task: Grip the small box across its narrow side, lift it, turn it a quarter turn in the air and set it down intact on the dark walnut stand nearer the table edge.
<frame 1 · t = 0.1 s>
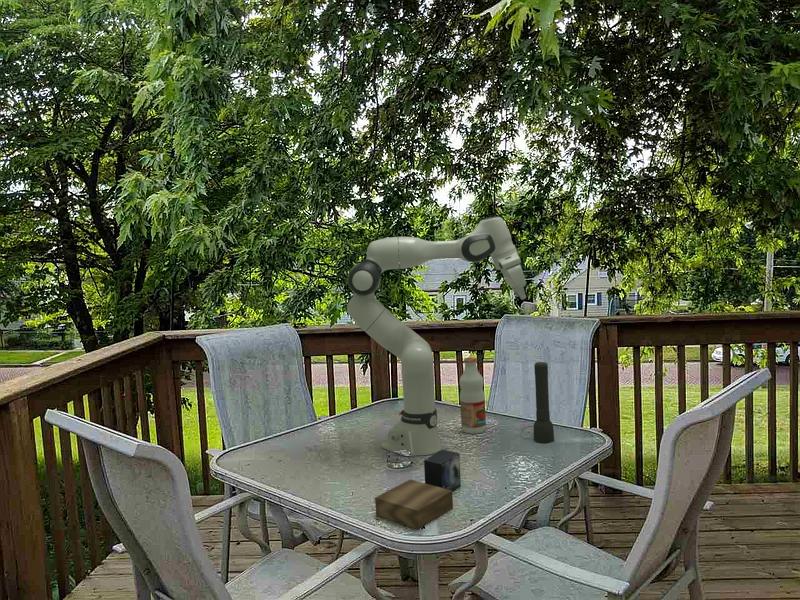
hand: (521, 297, 214), 52 cm above the table, tool tilted 20°, fingers open, 8 cm apart
small box: (443, 491, 183), on the table
flashlight: (543, 440, 221), on the table
stand: (414, 511, 169), on the table
fruit juice: (473, 430, 237), on the table
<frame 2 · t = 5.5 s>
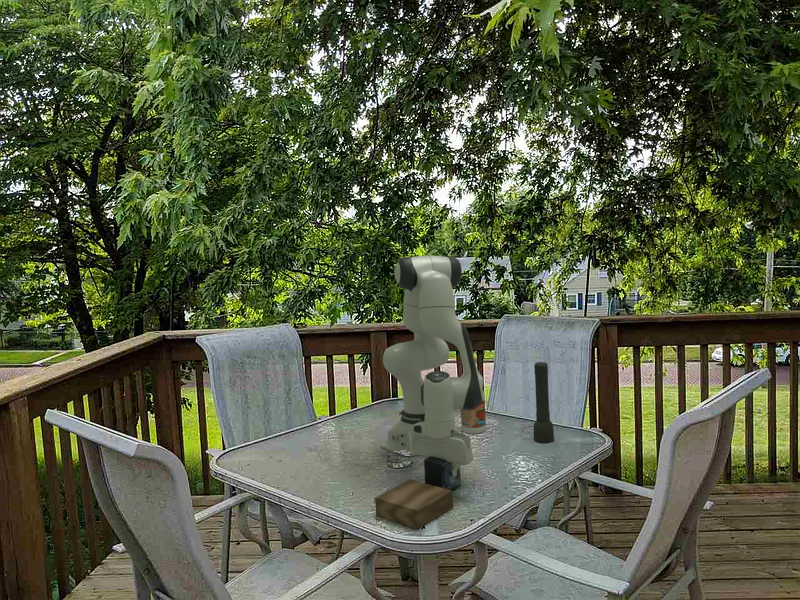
hand: (442, 473, 182), 5 cm above the table, tool pointing down, fingers closed on small box, 6 cm apart
small box: (443, 490, 183), on the table, touching gripper
everything else where it was.
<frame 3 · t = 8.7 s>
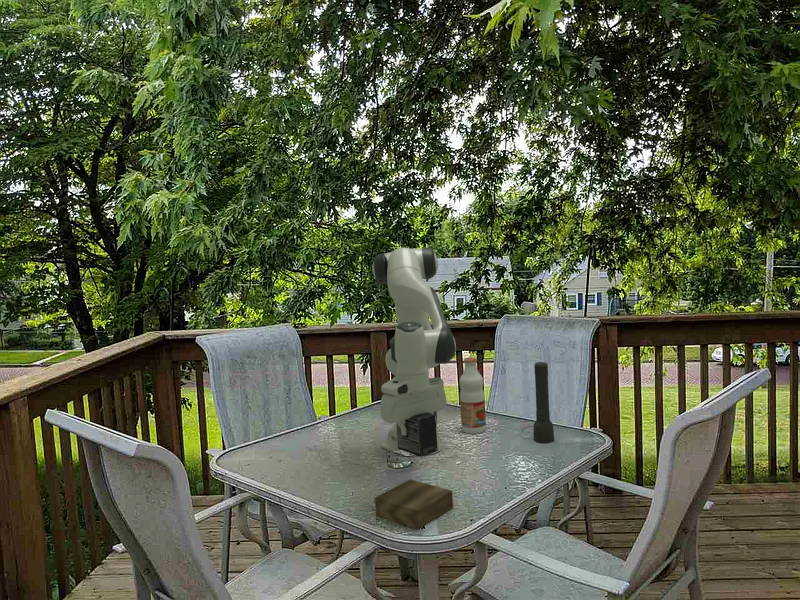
hand: (416, 431, 170), 22 cm above the table, tool pointing down, fingers closed on small box, 6 cm apart
small box: (418, 450, 171), point 16 cm above the table, touching gripper
everything else where it was.
when the fingers open (12 cm above the table, at t = 12.4 s): small box moves 1 cm, resting on stand.
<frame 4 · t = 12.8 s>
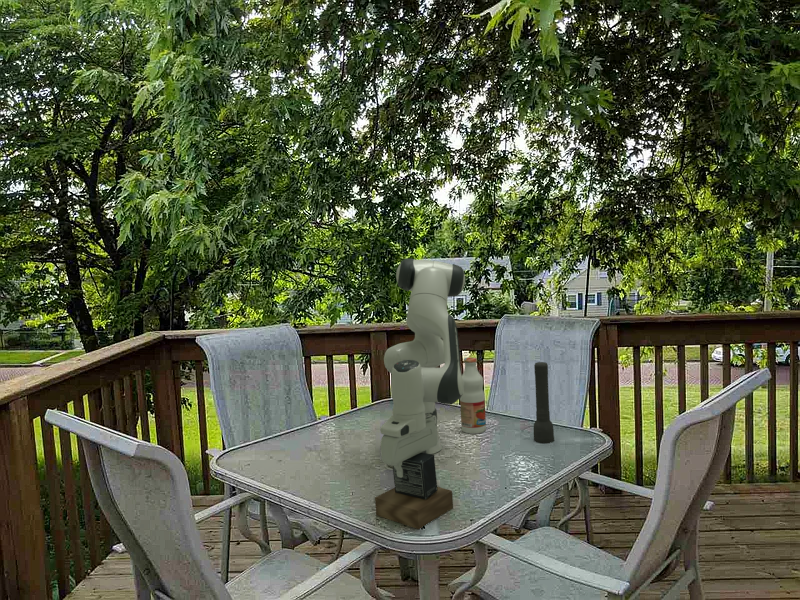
hand: (412, 470, 168), 12 cm above the table, tool pointing down, fingers open, 8 cm apart
small box: (416, 492, 170), point 5 cm above the table, touching gripper, stand
everything else where it was.
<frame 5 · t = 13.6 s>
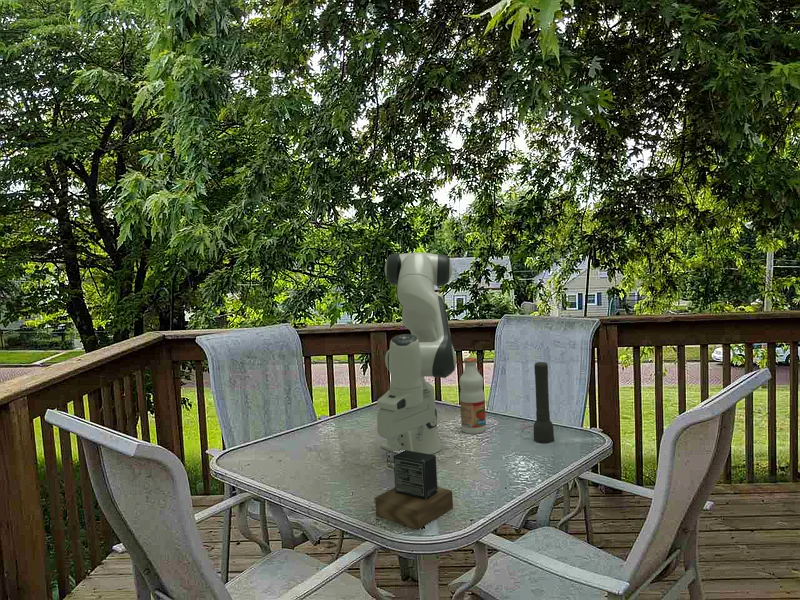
hand: (408, 445, 168), 19 cm above the table, tool pointing down, fingers open, 8 cm apart
small box: (416, 492, 170), point 5 cm above the table, touching stand
everything else where it was.
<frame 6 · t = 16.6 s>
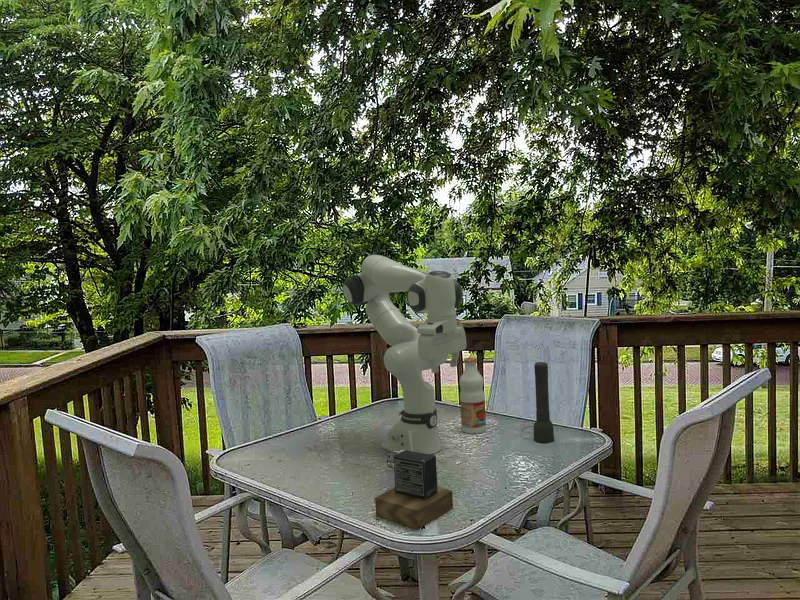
hand: (444, 369, 189), 34 cm above the table, tool pointing down, fingers open, 8 cm apart
nothing on the table moved.
at the end: small box inside the target area on the stand (1.4 cm from its centre), point 4.8 cm above the stand's base; small box tilted 0°; the gripper is holding nothing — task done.
